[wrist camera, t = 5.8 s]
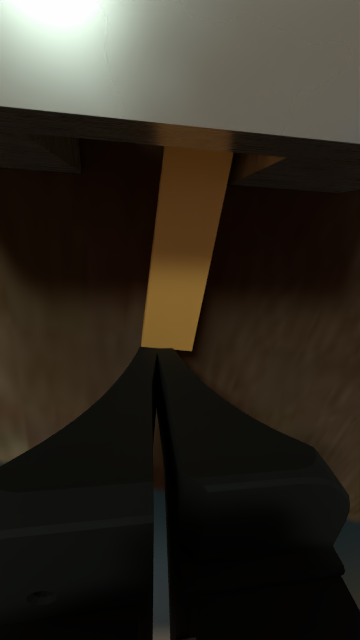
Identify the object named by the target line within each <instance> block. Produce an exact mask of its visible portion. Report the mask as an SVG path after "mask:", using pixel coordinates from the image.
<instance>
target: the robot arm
mask: <svg viewBox="0 0 360 640" xmlns="http://www.w3.org/2000/svg"><path fill="white" fill-rule="evenodd" d="M156 407H157V415H158V423H159V430H160V438H161V445H162V453H163V463H164V479H165V501H166V502H165V503H166V525H167V527H166V528H167V553H168V554H167V555H168V579H169V580H168V583H169V609H170V611H169V612H170V639H171V640H360V610H359V609H358V607H357V605H356V603H355V601H354V599H353V598H352V596H351V594H350V592H349V590H348V588H347V586H346V585H345V583H344V581H343V579H342V578H341V575H343V574H344V572H345V569H344V565H343V564H342V562H341V560H340V558H339V556H338V555H337V553H336V551H335V549H334V547H333V544H334V542H335V540H336V538H337V537H338V535H339V533H340V531H341V529H342V527H343V526H344V524H345V522H346V519H347V516H348V513H349V509H350V501H349V495H348V494H347V492H346V491H345V489H344V488H343V486H342V485H341V483H340V482H339V480H338V479H337V478H336V476H335V475H334V473H333V472H332V470H331V469H330V468H329V466H328V465H327V464H326V462H325V461H324V460H323V458H322V457H321V456H320V455H319V453H318V452H317V451H316V450H315V449H314V447H312V446H310V445H307V444H305V443H303V442H301V441H299V440H296V439H294V438H292V437H290V436H287V435H285V434H283V433H281V432H279V431H276V430H274V429H272V428H271V427H269V426H267V425H265V424H263V423H261V422H259V421H257V420H256V419H254V418H252V417H250V416H249V415H247V414H245V413H244V412H242V411H240V410H239V409H237V408H236V407H234V406H233V405H231V404H230V403H228V402H227V401H225V400H224V399H223V398H221V397H220V396H219V395H217V394H216V393H215V392H214V391H212V390H211V389H210V388H208V387H207V386H206V385H205V384H204V383H203V382H202V381H201V380H200V379H199V378H198V377H197V376H196V375H195V374H194V373H193V372H192V371H191V370H190V369H189V367H188V366H187V365H186V364H185V363H184V362H183V360H182V359H181V358H180V357H179V355H178V354H177V353H176V351H175V350H174V349H173V348H151V347H140V348H139V350H138V352H137V354H136V355H135V357H134V359H133V360H132V362H131V363H130V364H129V366H128V367H127V369H126V370H125V371H124V373H123V374H122V375H121V376H120V378H119V379H118V380H117V381H116V382H115V383H114V385H113V386H112V387H111V388H110V389H109V390H108V391H107V392H106V393H105V394H104V395H103V396H102V397H101V398H100V399H99V400H98V401H97V402H96V403H95V404H93V405H92V406H91V407H90V408H89V409H88V410H86V411H85V412H84V413H83V414H81V415H80V416H79V417H78V418H77V419H75V420H74V421H73V422H71V423H70V424H68V425H67V426H65V427H64V428H63V429H61V430H60V431H58V432H57V433H55V434H54V435H52V436H51V437H49V438H48V439H46V440H45V441H43V442H41V443H40V444H38V445H37V446H35V447H33V448H32V449H30V450H28V451H26V452H25V453H23V454H21V455H20V456H18V457H16V458H14V459H13V460H11V461H9V462H8V463H6V464H4V465H2V466H0V640H152V638H153V637H152V635H153V539H154V509H153V508H154V502H153V442H154V429H155V417H156Z"/></svg>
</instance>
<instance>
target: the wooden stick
mask: <svg viewBox="0 0 360 640" xmlns="http://www.w3.org/2000/svg"><path fill="white" fill-rule="evenodd" d="M233 153H234V152H223V151H213V150H202V149H191V148H180V147H170V146H164V150H163V159H162V167H161V176H160V184H159V193H158V201H157V210H156V218H155V227H154V235H153V244H152V252H151V261H150V269H149V278H148V286H147V295H146V303H145V312H144V320H143V330H142V343H141V347H151V348H173V349H174V350H184V351H192V348H193V343H194V338H195V334H196V329H197V324H198V319H199V315H200V310H201V305H202V300H203V296H204V291H205V286H206V281H207V277H208V272H209V267H210V262H211V258H212V253H213V248H214V243H215V239H216V234H217V229H218V224H219V220H220V215H221V210H222V206H223V201H224V196H225V191H226V187H227V182H228V177H229V172H230V168H231V163H232V158H233Z"/></svg>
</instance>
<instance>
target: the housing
mask: <svg viewBox="0 0 360 640" xmlns="http://www.w3.org/2000/svg"><path fill="white" fill-rule="evenodd" d="M78 138H84V139H94V140H105V141H116V142H127V143H137V144H148V145H159V146H170V147H180V148H191V149H202V150H213V151H223V152H234V153H233V158H232V163H231V169H230V178H229V185H238V186H251V187H265V188H278V189H291V190H305V191H318V192H331V193H341V192H348V191H354V190H360V0H0V168H12V169H25V170H39V171H52V172H65V173H79V174H82V172H81V162H80V151H79V141H78Z"/></svg>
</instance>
